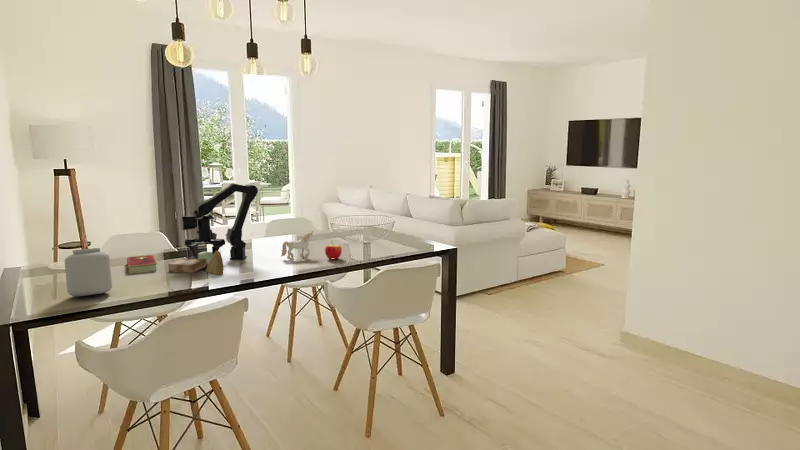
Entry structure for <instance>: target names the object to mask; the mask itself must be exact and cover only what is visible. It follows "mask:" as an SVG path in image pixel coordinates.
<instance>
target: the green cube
mask: <svg viewBox="0 0 800 450" xmlns="http://www.w3.org/2000/svg"><path fill="white" fill-rule="evenodd" d="M212 256H213V252H212V251H202V252H198V259H206V265H208V263H209V262H210V260H211V258H212Z"/></svg>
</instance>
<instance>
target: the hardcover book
mask: <svg viewBox="0 0 800 450" xmlns="http://www.w3.org/2000/svg"><path fill="white" fill-rule="evenodd" d="M126 263H127V264H126V266H127V272H128V275H130V274H139V273H147V272H148V273H149V272H157V265H158V263H157V259H156V257H155V254H148V255H147V254H145V255H137V256H127V257H126Z"/></svg>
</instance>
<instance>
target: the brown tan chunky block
mask: <svg viewBox="0 0 800 450" xmlns="http://www.w3.org/2000/svg"><path fill="white" fill-rule="evenodd" d="M205 272H207V273H209V274H213V275H223V274H224V261H223V257H222V253H221V251H220V250H218V251H215V253H214V254H213V256H212V258H211V260H210V262H209V263H208V264H206V269H205Z"/></svg>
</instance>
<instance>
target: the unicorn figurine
mask: <svg viewBox="0 0 800 450" xmlns="http://www.w3.org/2000/svg"><path fill="white" fill-rule="evenodd" d="M313 235H314V230H312V231H309V232H307V233H306V234H305V235H304V236H303V237H302V238H301V239H300V240H290V241H287V240H286V241H284V242H283V244H282V250H281V254H280V257H284V256H286V254H287V256H286V259H287V260H290V261H293V258H294V253H293V250H294V249H295V250H301V253H300V258H303V259H304V258H305V260H308V258H309V257H310V252H311V251H310V249H309V248H308V247H309V242H311V241H312V237H313ZM287 248H288V250H287ZM304 251H306V252H307V253H306V254H305V255H304Z"/></svg>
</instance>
